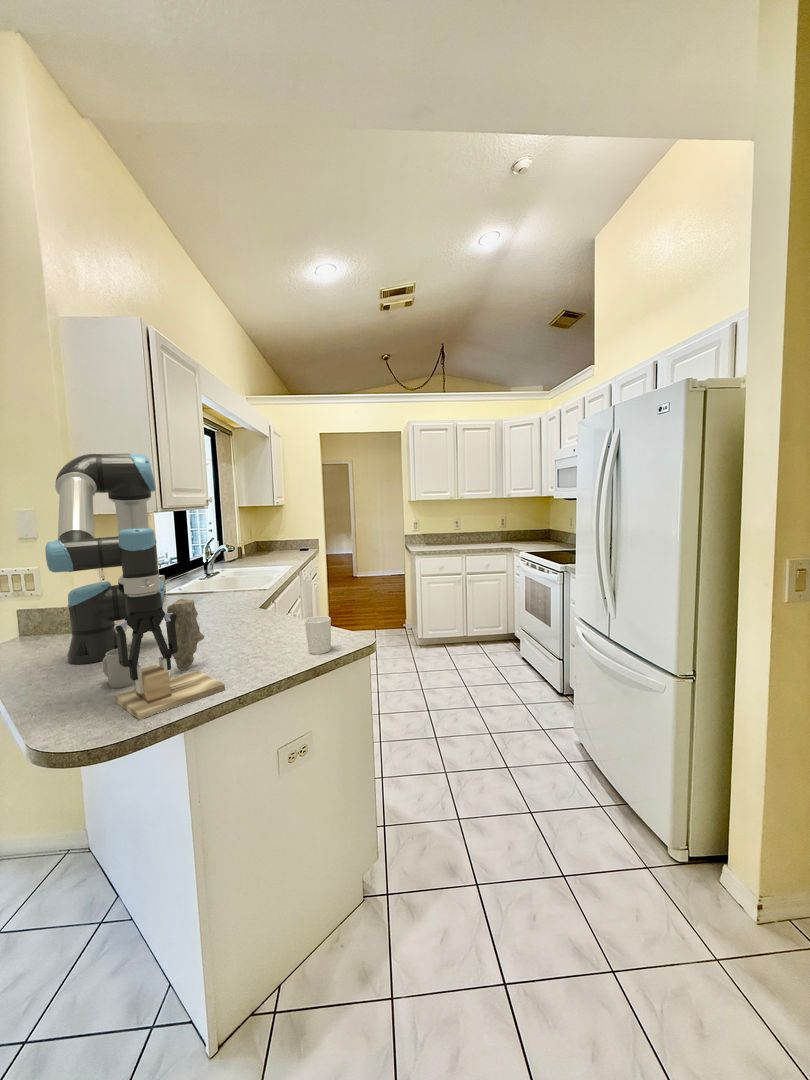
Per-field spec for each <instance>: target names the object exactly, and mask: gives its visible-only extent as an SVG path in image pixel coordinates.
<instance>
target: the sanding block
mask: <svg viewBox="0 0 810 1080" xmlns="http://www.w3.org/2000/svg"><path fill="white" fill-rule="evenodd" d="M141 670H142V681H143V690H144V693H142V694H140V693H138V692H137V691H136V695H137V696H139V697H140V698H142V699H143V700H144V701H146V702H147V703H151V702H154V701H157V700H160V699H163V698H166V697H169V696H172V693H171V690H170V680H169V679H170V672H169V670H168V671H167V670H165V669H163V668H161V667H160V665H159V664H158V665H157V664H154V665H150V666H146V667H143V668H142V667H141Z"/></svg>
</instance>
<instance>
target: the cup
mask: <svg viewBox="0 0 810 1080" xmlns="http://www.w3.org/2000/svg"><path fill="white" fill-rule="evenodd" d="M130 649H131V646H127V652H128V660H129V655H130ZM101 665H102V671H103V673H104V675H105V676H106V677H107V679H108V686H109V687H110V688H111V689H122V688H126V687H130V686H133V685H136V684H135V681H133V680H132V679H131V678H130V670H129V667H123V666H122V665H120V664H119V655H118V649H114V650H111V651H109V652H107V653H106V656H105V657H104V659H103V661H102V664H101ZM138 665H140V663H138Z"/></svg>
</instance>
